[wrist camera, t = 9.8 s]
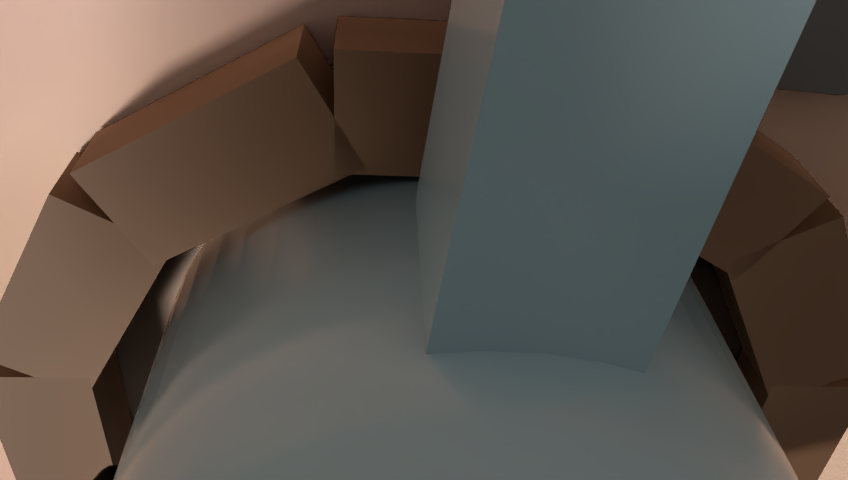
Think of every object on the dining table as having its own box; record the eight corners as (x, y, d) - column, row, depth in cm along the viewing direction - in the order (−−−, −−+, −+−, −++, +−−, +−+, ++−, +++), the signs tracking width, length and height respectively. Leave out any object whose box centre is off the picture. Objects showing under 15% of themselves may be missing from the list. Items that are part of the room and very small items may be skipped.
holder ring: (988, 46, 7) (1045, 79, 7) (702, 606, 13) (718, 653, 13) (-109, -5, 7) (-161, 28, 6) (102, 612, 13) (87, 662, 12)
